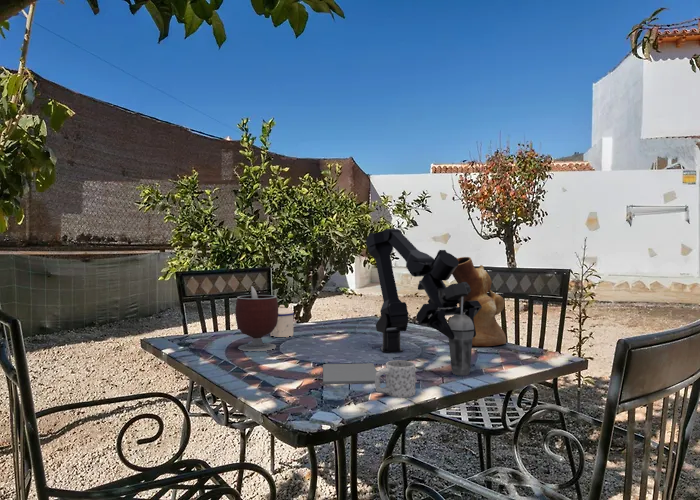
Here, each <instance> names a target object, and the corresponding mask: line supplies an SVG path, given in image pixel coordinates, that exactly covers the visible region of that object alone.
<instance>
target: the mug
mask: <svg viewBox="0 0 700 500" xmlns="http://www.w3.org/2000/svg"><path fill="white" fill-rule="evenodd" d="M382 375H385V386H384V387H381V385H380V384H381V383H379V382H380V380H381V376H382ZM374 387H375V390H376V392H377V393H380V394H381V393H383V394H386V395H387V396H390V397H395V398H410V397H414V396H415V395H416V362H413V361H409V360H403V359H402V360H397V359H396V360H389V361H387V362H385V368H383V369H380V370H378V371H377V373H376V376H375V383H374ZM413 395H414V396H413Z"/></svg>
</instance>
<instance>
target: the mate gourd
mask: <svg viewBox="0 0 700 500" xmlns="http://www.w3.org/2000/svg"><path fill="white" fill-rule="evenodd" d="M250 289H251V291H250V294H248V295H240V296H237V298H236V302H235V312H234V313H235V321H236V322H235V323H236V326H237V328H238V329H239V331H240V332H241V334H244V335H246V336H248V337H250V338H252V340H251V343H247V344H246V343H245V344H241V345H239V346H238V347H237V350H238V349H240V350H243V351H266V352H268V351H267V350H271V351H273V350H272V349H274V350H275V348H276V349H277V345H276V344H273V343H269V342H268V343H267V342H263V339H262V338H263V337H265V336H267V335H269V334H270V333H271V332H272V331H273V330H274V328H275V327H276V325H277V321H278V308H279V302H278V299H277V298H278V296H277V295H271V294H257V291H256V288H254V286H253V285H252V286H250Z"/></svg>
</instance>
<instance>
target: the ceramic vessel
mask: <svg viewBox="0 0 700 500" xmlns="http://www.w3.org/2000/svg"><path fill="white" fill-rule="evenodd" d="M456 258H457V257H456ZM457 259H458V261H459V264H458V266H457V267H456V269H455V270H454V272H453V273H452V275H451V276H452V277H453V278H454V280H455V281H456V283H461V282H467V283H468V285H469V286H470V289H471V292H470V293H468V295H467V296H464V297H463V304H464V303H465V301H473V300H476V301H478V302H479V303H480V305H481V306H482V308H481V309H480V310H479V311H478V313H477V314H476V315H475V317H474V325H475V330H476V336H475V337H473V340H472V347H492V346H493V347H494V346H499V345H500V346H501V345H506V344H507V336H506V334H505V332H504V330H503V329H502V327H501V326H500V324H499V323H498V321H497V320H496V316H497V315H499V314H501V312H502V311H503V310H504V308H505V299H504V297H502V296H501V295H499V294H498V293H495V292H494V291H493V290H491V288H492V287H491V286H492V282H493V281H492V278H491V276H490V275H489V273H488V272H487V270H485V268H484V265H483V264H480V265H479V267H476V268H475V266H474V263H473V260H472V257H469V256H461V257H458V258H457ZM460 300H461V298H460ZM458 307H461V302H460V303H459V304H458Z"/></svg>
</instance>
